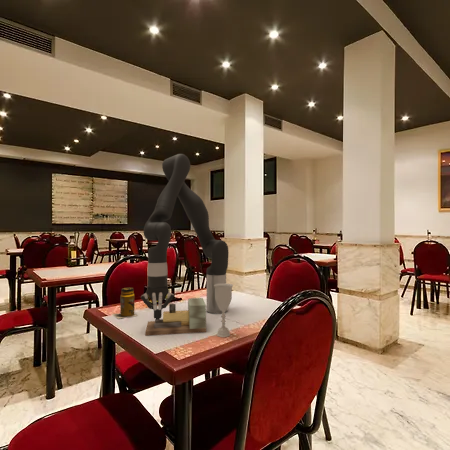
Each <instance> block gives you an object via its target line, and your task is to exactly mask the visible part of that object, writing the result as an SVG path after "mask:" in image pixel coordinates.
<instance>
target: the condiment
mask: <svg viewBox="0 0 450 450" xmlns="http://www.w3.org/2000/svg"><path fill="white" fill-rule="evenodd" d="M134 290H135V289H134V287H124V288H121V291H120V293H121V294H120V295H119V296H120V298H119V299H120V300H119V301H120V302H119V303H120V306H119V307H120V311H119V313H114V314H113V316H114V317H115V318H116V319H118V320H119V319H124V318H133V317H137V316H138V315H137V314H136V313H135V310H136V309H135V303H136V302H135V298H136V297H135V293H134Z"/></svg>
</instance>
